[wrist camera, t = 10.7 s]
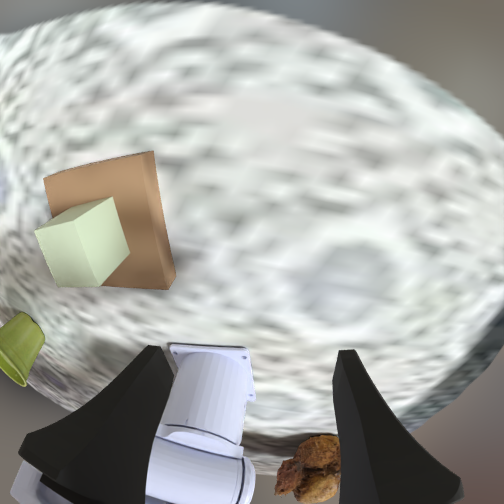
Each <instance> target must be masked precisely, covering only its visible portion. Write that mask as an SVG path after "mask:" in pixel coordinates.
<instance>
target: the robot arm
mask: <svg viewBox="0 0 504 504" xmlns="http://www.w3.org/2000/svg"><path fill="white" fill-rule="evenodd" d="M170 351H171V354H172V356H173V358H174V360H175V363H176V365H177V367H178V373H177V375H176V378H175V381H174V384H173V387H172V382H173V377H174V374H173V372H172V370H171V368H170V366H169V364H168V362H167V360H166V357H165V355H164V353H163V351H162V349H161V346H152V345H148V346H147V347H146V348H145V349H144V350H143V351H142V352H141V353H140V354H139V355H138V356H137V357H136V358H135V359H134V360H133V361H132V362H131V363H130V364H129V365H128V366H127V367H126V368H125V369H124V370H123V371H122V372H121V373H120V374H119V375H118V376H117V377H116V378H115V379H114V380H113V381H112V382H111V383H110V384H109V385H108V386H106V387H105V388H104V389H103V390H102V391H101V392H100V393H99V394H98V395H96V396H95V397H94V398H93V399H91V400H90V401H89V402H87V403H86V404H85V405H83V406H82V407H81V408H79V409H78V410H76V411H74V412H73V413H71V414H70V415H68V416H66V417H65V418H63V419H61V420H59V421H58V422H56V423H53V424H52V425H49V426H47V427H45V428H42V429H39V430H37V431H34V432H31V433H28V434H27V435H26V437H25V439H24V441H23V443H22V445H21V447H20V449H19V451H18V453H19V455H20V456H21V457H22V458H23V459H25V460H26V461H27V462H28V463H27V462H26V461H23V462H22V464H21V467H20V469H19V471H18V474H17V476H16V479H15V481H14V483H13V486H12V489H11V491H10V494H11V495H12V496H13V497H14V498H15V499H16V500H17V501H18V502H19V503H20V504H250V501H251V499H252V496H253V492H254V486H255V469H254V466H253V464H252V463H251V461H250V459H249V458H248V457H245V456H242V455H243V448H244V447H242V446H239V445H240V443H241V439H242V432H243V426H244V419H245V412H246V404H247V401H255V400H256V394H255V388H254V381H253V374H252V368H251V361H250V354H249V350H248V349H246V348H227V347H207V346H192V345H180V344H171V345H170ZM332 384H333V403H334V410H335V416H336V423H337V430H338V437H339V444H340V455H341V478H340V499H339V504H454V503H456V502H458V501H460V500H462V499H463V498H464V491H463V485H462V482H461V478H460V477H459V476H457V475H456V474H454V473H453V472H451V471H450V470H449V469H447V468H446V467H445V466H443V465H442V464H441V463H440V462H439V461H437V460H436V459H435V458H434V457H433V456H432V455H430V454H429V453H428V452H427V451H426V450H425V449H424V448H423V447H422V446H421V445H420V444H419V443H418V442H417V441H416V440H415V439H414V438H413V437H412V435H411V434H410V433H409V432H408V431H407V430H406V428H405V427H404V426H403V425H402V424H401V422H400V421H399V420H398V419H397V417H396V416H395V415H394V413H393V412H392V411H391V409H390V408H389V406H388V405H387V403H386V402H385V400H384V399H383V397H382V396H381V394H380V393H379V391H378V390H377V388H376V386H375V385H374V383H373V382H372V380H371V378H370V376H369V375H368V373H367V371H366V369H365V367H364V366H363V364H362V362H361V360H360V358H359V356H358V354H357V352H356V351H355V350H354V349H352V350H339V352H338V357H337V362H336V366H335V371H334V375H333V380H332ZM171 387H172V389H171ZM29 463H30V464H31V465H30V464H29ZM33 466H34V467H33ZM37 469H38V470H37Z"/></svg>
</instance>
